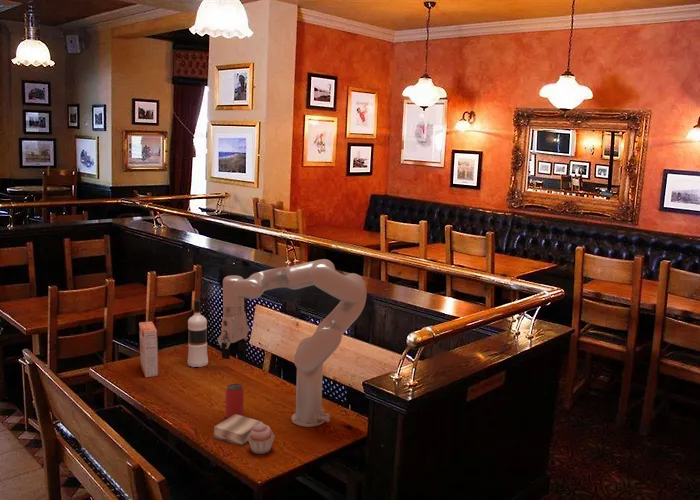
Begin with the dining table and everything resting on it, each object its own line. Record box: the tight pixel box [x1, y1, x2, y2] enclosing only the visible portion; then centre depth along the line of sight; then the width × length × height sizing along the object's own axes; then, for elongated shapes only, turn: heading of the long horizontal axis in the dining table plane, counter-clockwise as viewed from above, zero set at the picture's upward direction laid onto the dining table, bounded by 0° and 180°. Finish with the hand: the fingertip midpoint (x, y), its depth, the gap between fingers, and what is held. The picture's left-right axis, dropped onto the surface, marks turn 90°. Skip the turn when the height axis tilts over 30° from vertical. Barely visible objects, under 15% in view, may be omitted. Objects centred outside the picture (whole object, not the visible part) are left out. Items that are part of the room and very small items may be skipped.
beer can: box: [225, 383, 245, 419], centre depth 245 cm, size 7×7×12 cm
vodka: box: [186, 299, 209, 368], centre depth 294 cm, size 9×9×30 cm
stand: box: [212, 414, 263, 447], centre depth 231 cm, size 12×12×4 cm
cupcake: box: [247, 421, 275, 455], centre depth 220 cm, size 9×9×10 cm
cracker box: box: [138, 321, 159, 379], centre depth 285 cm, size 14×6×21 cm, turn 25°
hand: (234, 354), depth 242 cm, fingers open, 9 cm apart
